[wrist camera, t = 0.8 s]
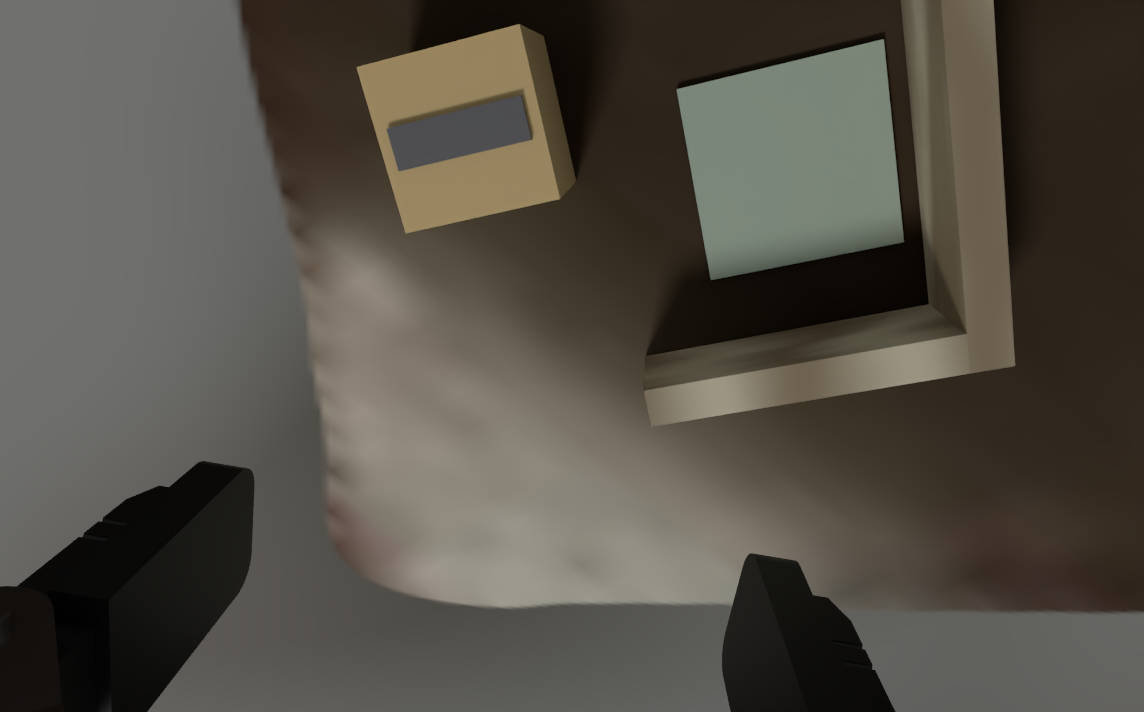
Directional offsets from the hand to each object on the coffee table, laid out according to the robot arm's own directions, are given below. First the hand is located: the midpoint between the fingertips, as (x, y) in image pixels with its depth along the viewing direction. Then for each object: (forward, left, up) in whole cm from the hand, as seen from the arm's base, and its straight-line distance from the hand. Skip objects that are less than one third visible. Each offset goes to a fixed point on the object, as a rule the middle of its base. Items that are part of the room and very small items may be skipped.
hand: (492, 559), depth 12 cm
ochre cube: (+3, -7, -21) cm, 22 cm away
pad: (-8, -3, -21) cm, 22 cm away
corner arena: (-7, -3, -21) cm, 22 cm away
